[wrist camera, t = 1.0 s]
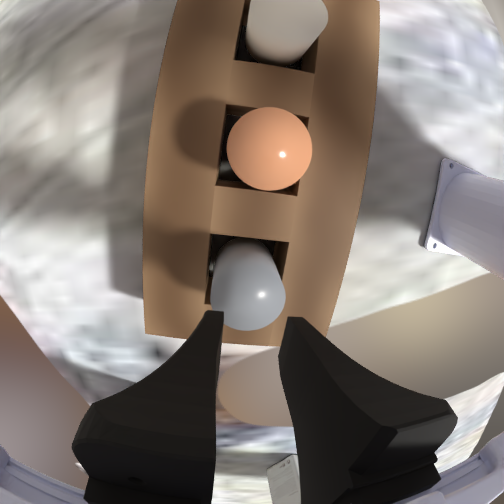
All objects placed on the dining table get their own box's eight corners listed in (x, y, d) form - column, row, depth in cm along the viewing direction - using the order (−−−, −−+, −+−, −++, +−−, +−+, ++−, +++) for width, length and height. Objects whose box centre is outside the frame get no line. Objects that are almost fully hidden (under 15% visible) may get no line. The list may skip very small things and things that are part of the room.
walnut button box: (356, 21, 15) (379, 1, 11) (308, 317, 22) (322, 347, 19) (195, -7, 13) (189, -35, 10) (157, 304, 21) (145, 333, 17)
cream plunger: (308, 25, 13) (329, -7, 9) (302, 72, 14) (325, 48, 10) (249, 14, 12) (255, -23, 8) (240, 62, 14) (244, 33, 9)
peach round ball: (295, 125, 15) (317, 115, 11) (286, 185, 16) (305, 196, 12) (232, 115, 15) (233, 101, 11) (224, 177, 16) (221, 185, 12)
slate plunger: (277, 240, 17) (291, 268, 13) (268, 293, 18) (278, 332, 14) (217, 234, 17) (213, 260, 13) (212, 288, 18) (208, 327, 14)
